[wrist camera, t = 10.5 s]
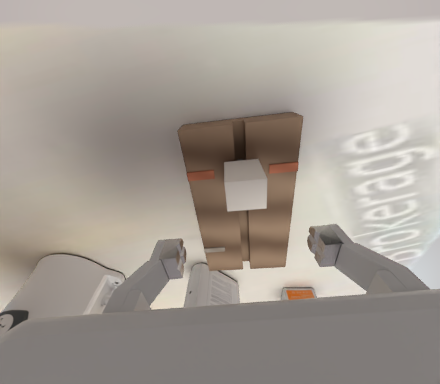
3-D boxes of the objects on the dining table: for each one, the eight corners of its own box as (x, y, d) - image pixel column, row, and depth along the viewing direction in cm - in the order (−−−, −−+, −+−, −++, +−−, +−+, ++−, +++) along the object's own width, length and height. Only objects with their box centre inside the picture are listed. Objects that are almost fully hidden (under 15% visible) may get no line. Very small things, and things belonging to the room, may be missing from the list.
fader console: (280, 251, 30) (285, 267, 28) (210, 255, 31) (209, 272, 28) (292, 112, 19) (304, 116, 16) (183, 124, 20) (176, 131, 17)
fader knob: (255, 177, 21) (266, 208, 16) (226, 180, 21) (227, 211, 16) (255, 153, 20) (267, 178, 14) (224, 156, 20) (224, 182, 15)
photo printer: (186, 269, 33) (169, 355, 23) (200, 258, 32) (189, 345, 21) (227, 291, 37) (228, 374, 26) (241, 282, 35) (249, 367, 25)
